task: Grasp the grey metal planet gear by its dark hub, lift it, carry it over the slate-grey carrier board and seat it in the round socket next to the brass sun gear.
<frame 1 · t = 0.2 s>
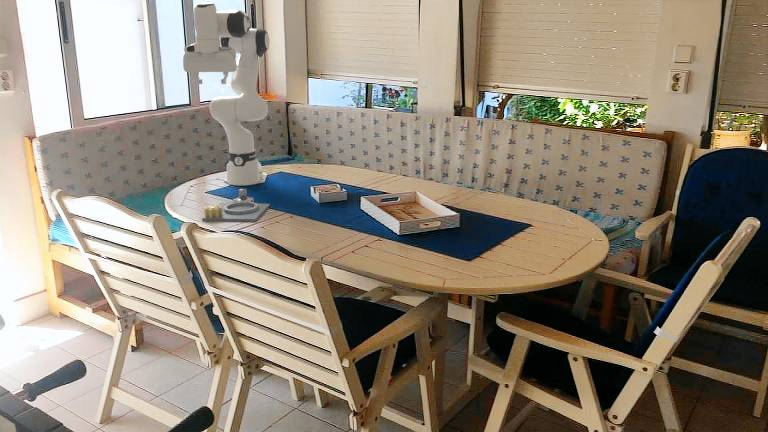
hand: (211, 84, 245), 47 cm above the table, fingers open, 8 cm apart
carrier board: (237, 213, 241), on the table
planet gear: (243, 202, 255), on the table
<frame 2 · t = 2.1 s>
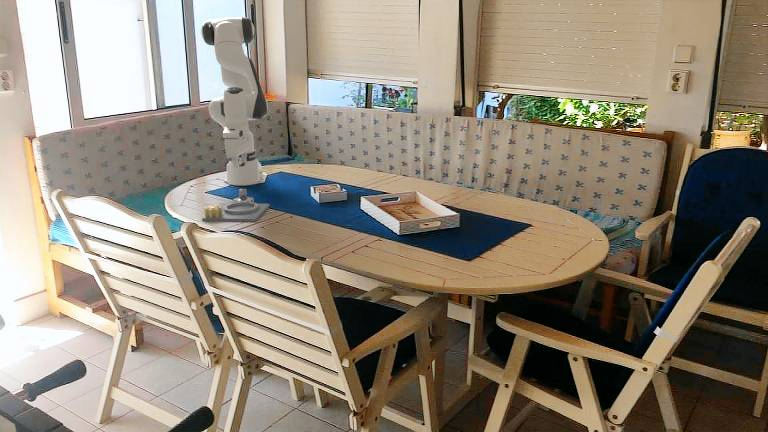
hand: (240, 165, 250), 16 cm above the table, fingers open, 8 cm apart
nothing on the table moved.
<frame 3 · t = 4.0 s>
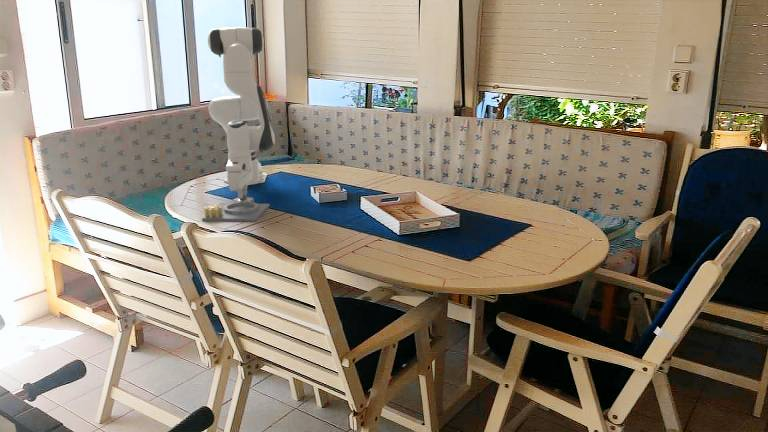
hand: (242, 196, 254), 3 cm above the table, fingers closed on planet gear, 3 cm apart
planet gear: (243, 202, 255), on the table, touching carrier board, gripper
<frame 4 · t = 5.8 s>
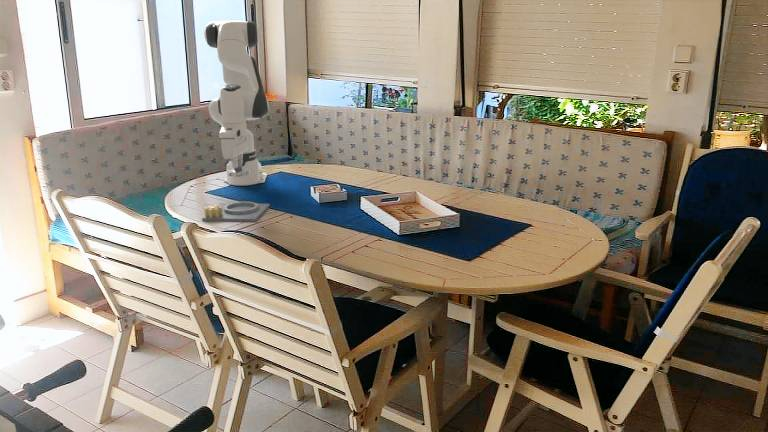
hand: (237, 166, 238), 18 cm above the table, fingers closed on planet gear, 3 cm apart
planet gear: (238, 174, 239), point 15 cm above the table, touching gripper
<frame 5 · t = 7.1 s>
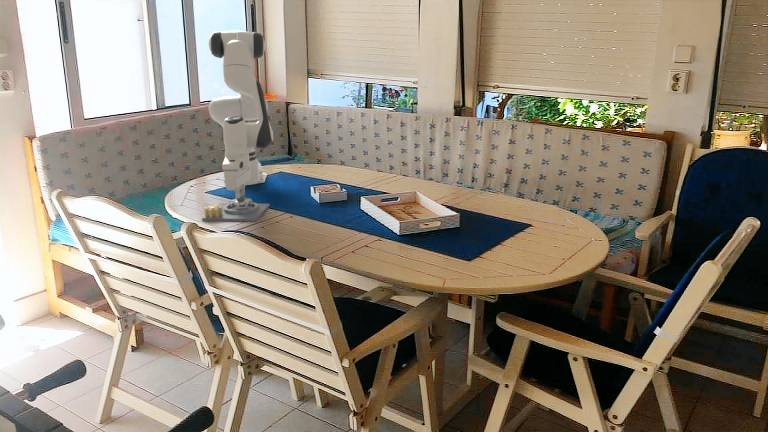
hand: (240, 196, 241), 6 cm above the table, fingers closed on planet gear, 3 cm apart
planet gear: (241, 204, 242), point 3 cm above the table, touching gripper
when the fingers open (4 cm above the table, at t = 7.7 s): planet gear stays where it is, resting on carrier board.
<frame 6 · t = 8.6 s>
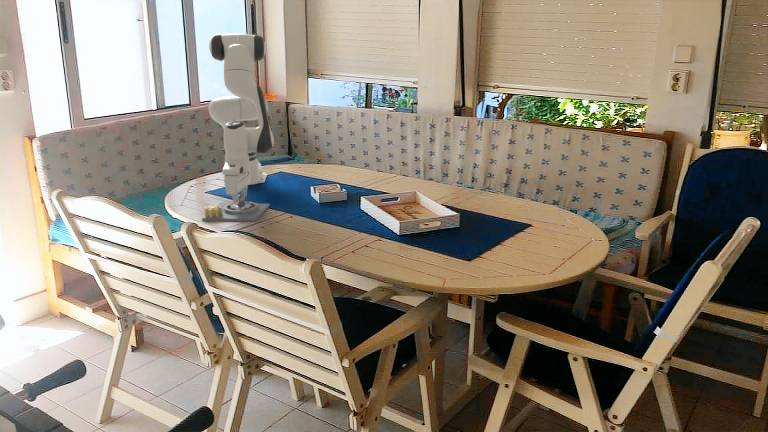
hand: (240, 200, 242), 4 cm above the table, fingers open, 8 cm apart
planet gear: (241, 209, 243), point 1 cm above the table, touching carrier board
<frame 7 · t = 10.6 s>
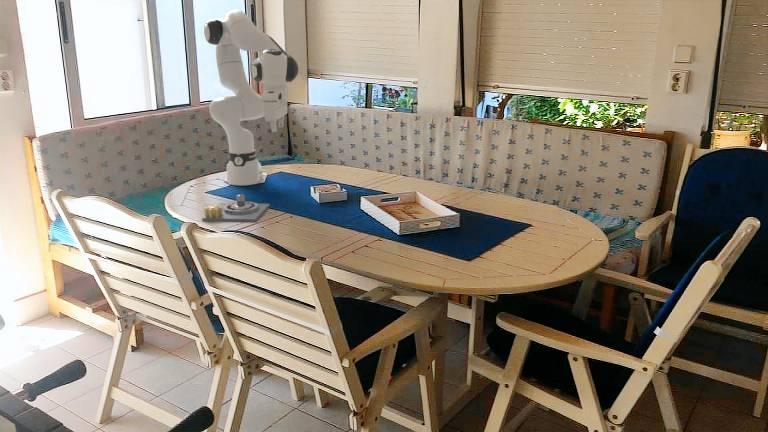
hand: (277, 129, 245), 30 cm above the table, fingers open, 8 cm apart
nothing on the table moved.
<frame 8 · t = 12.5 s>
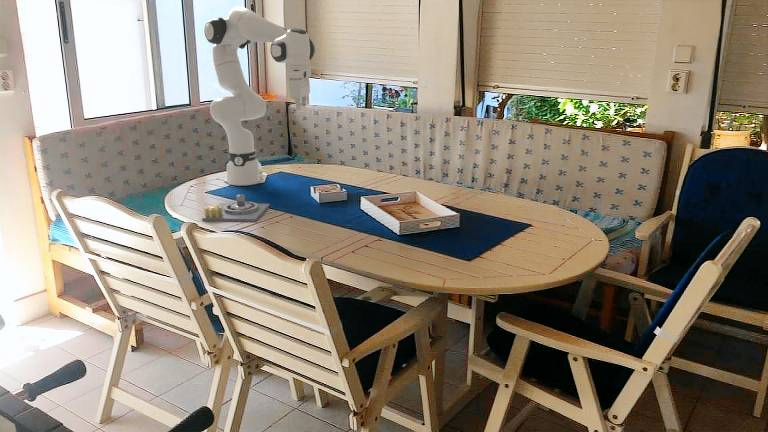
hand: (301, 108, 249), 37 cm above the table, fingers open, 8 cm apart
nothing on the table moved.
at the end: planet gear 0.1 cm from the target spot on the carrier board, point 1.0 cm above the carrier board's base; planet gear tilted 0°; the gripper is holding nothing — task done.
